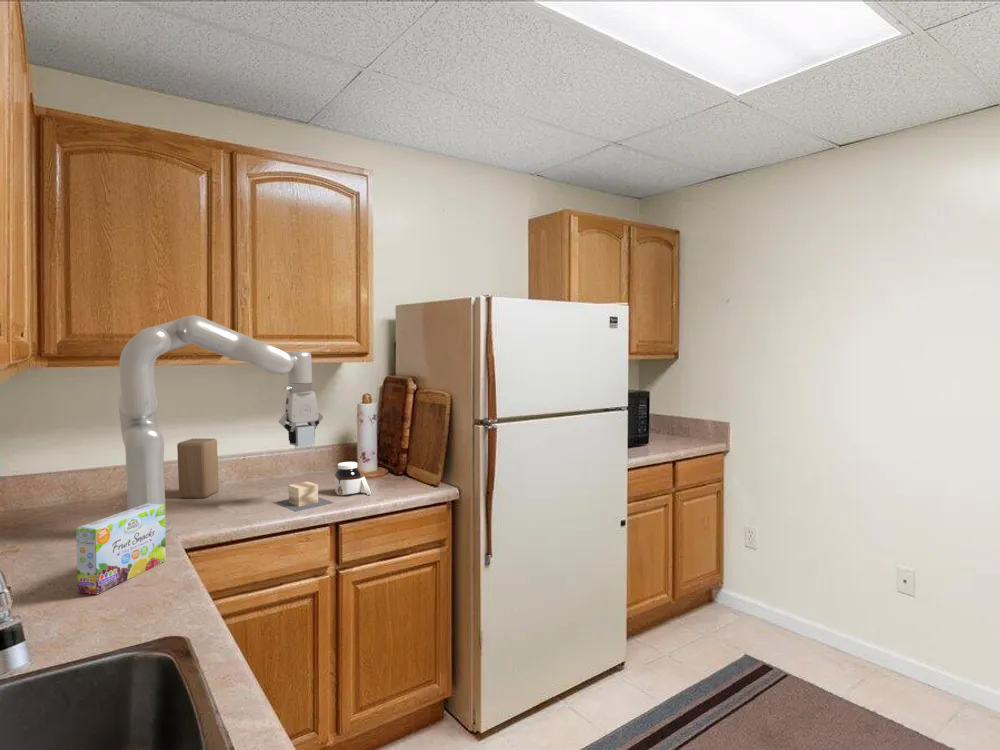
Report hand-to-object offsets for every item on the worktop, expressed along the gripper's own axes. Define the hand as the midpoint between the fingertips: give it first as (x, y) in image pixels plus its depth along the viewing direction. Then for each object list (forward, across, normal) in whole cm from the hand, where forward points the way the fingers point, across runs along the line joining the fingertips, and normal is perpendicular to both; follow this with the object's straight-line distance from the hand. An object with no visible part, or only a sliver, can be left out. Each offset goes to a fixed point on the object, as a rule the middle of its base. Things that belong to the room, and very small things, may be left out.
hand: (302, 441), depth 203 cm
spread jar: (+22, +19, -1) cm, 29 cm away
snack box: (+22, -59, -26) cm, 68 cm away
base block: (+21, 0, 0) cm, 21 cm away
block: (+22, -19, +41) cm, 50 cm away
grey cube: (+1, 0, 0) cm, 1 cm away
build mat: (+22, 0, 0) cm, 22 cm away
